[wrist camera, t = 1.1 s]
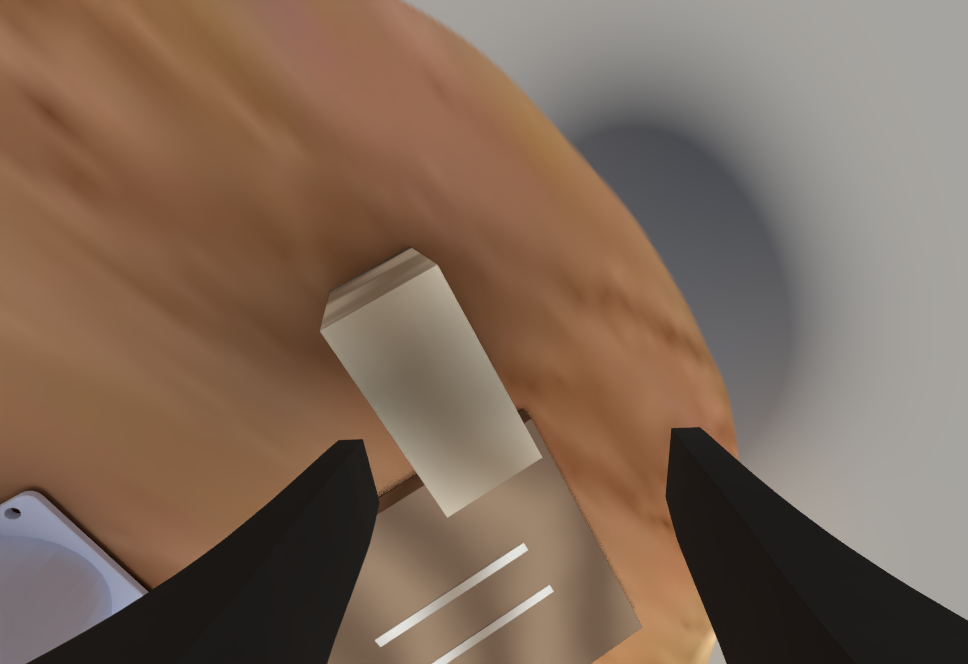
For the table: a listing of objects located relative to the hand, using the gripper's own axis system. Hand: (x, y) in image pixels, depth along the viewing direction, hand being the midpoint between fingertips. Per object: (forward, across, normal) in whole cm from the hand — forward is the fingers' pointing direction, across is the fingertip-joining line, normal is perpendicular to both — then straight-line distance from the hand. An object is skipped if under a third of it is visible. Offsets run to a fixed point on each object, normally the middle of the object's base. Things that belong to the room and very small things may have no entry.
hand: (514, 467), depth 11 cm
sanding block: (+11, +5, +2) cm, 12 cm away
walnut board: (+8, +4, +17) cm, 19 cm away
